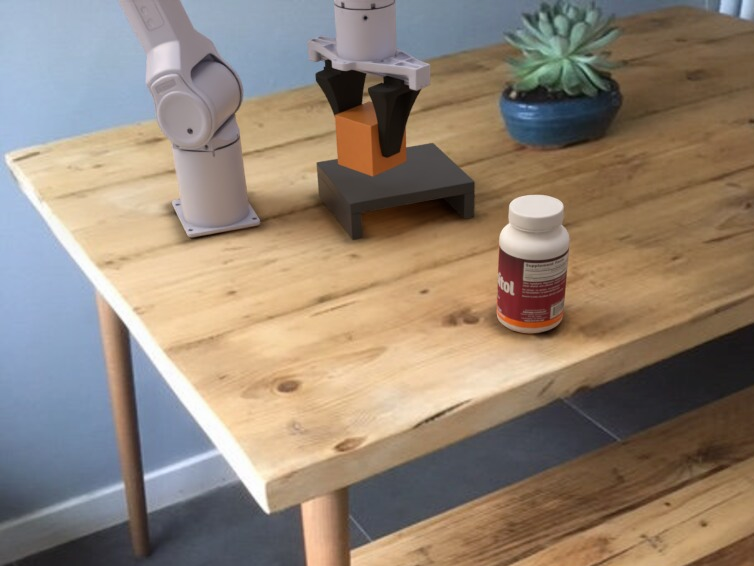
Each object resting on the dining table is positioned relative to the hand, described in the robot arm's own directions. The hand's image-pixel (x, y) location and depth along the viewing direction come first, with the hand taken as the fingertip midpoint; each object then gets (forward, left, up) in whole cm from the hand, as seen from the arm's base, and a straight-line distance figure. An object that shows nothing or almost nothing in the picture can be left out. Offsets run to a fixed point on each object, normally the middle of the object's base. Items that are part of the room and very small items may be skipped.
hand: (370, 147), depth 105 cm
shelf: (-5, +4, -9) cm, 11 cm away
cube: (0, 0, -2) cm, 2 cm away
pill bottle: (+23, +7, -9) cm, 26 cm away
